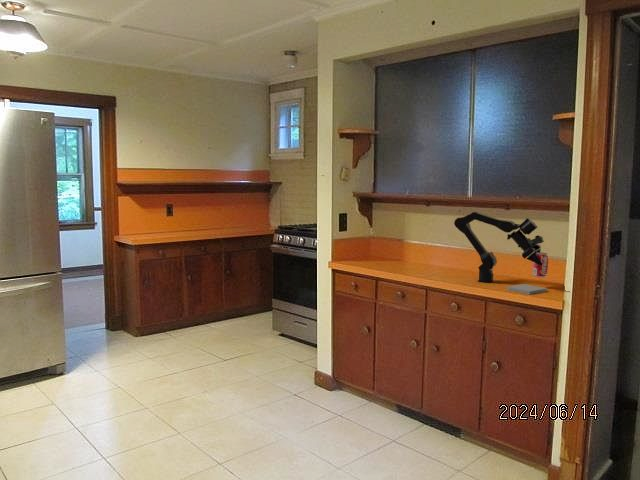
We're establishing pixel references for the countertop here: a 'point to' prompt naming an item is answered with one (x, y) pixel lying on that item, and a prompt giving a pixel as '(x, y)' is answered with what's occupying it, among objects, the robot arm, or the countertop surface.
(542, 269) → the soda can
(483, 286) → the countertop surface
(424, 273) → the countertop surface
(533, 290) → the slate board
